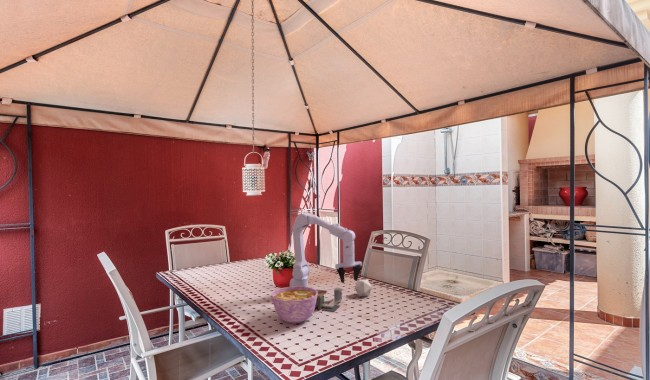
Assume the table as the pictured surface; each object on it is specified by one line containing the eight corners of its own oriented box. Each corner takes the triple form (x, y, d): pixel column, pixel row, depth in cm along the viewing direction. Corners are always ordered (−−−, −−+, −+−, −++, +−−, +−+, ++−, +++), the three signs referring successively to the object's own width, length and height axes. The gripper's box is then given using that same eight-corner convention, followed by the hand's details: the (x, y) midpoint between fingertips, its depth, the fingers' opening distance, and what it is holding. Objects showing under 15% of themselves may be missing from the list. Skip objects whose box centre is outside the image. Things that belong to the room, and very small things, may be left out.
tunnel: (308, 308, 152) (308, 294, 152) (316, 302, 160) (315, 289, 160) (320, 310, 150) (320, 295, 150) (327, 304, 157) (327, 290, 157)
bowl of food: (276, 311, 149) (276, 286, 149) (319, 311, 149) (319, 286, 149) (267, 329, 129) (267, 301, 129) (317, 329, 129) (316, 300, 129)
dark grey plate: (322, 310, 149) (322, 309, 149) (328, 304, 157) (328, 304, 157) (334, 312, 147) (334, 311, 147) (340, 306, 155) (340, 305, 155)
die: (367, 300, 163) (376, 283, 167) (351, 291, 165) (361, 274, 168) (365, 301, 171) (373, 284, 175) (350, 292, 173) (359, 276, 176)
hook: (312, 307, 153) (311, 294, 153) (323, 297, 167) (323, 286, 167) (331, 309, 150) (331, 297, 150) (341, 299, 163) (341, 288, 163)
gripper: (339, 257, 155) (340, 285, 155) (365, 254, 162) (365, 281, 162) (333, 254, 162) (333, 281, 162) (357, 252, 168) (358, 278, 168)
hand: (349, 281), depth 162 cm, fingers open, 7 cm apart
